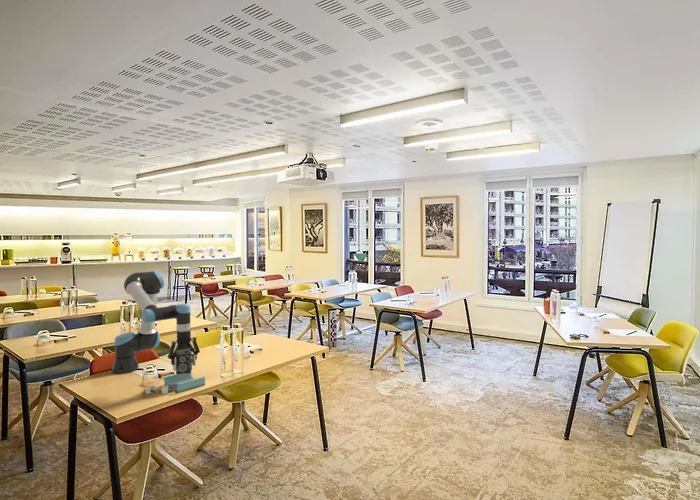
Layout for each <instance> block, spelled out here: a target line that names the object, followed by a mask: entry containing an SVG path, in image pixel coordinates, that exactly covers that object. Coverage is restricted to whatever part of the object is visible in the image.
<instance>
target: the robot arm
mask: <svg viewBox="0 0 700 500" xmlns="http://www.w3.org/2000/svg"><path fill="white" fill-rule="evenodd" d="M164 287H165V280H164V276H163V274H162V273H161V272H160V271H153V270H152V271H143V272H133V273H131V274H129V275H128V276H127V277H126V279H125V280H124V283H123V288H124V291H125V292H126V294H128V295H130V296H131V297H132V299H133V300H134V302H135V303H136V304H137V306H138V307H139V308H140V310H141V316H140V317H141V319H140V328H139V329H138V330H137V333H135V332H133V331H132V332H131V331H130V332H124V333H121V334H118V335H117V336H115V338H114V343H113V345H114V362H113V364H112V367H111V371H112V373H113V374H128V373H133V372H135V371H137V370H138V369H139V363H138V361H137V358H136V353H138V352H143V351H147V350H148V351H149V350H152V349H157V347H158V346H159V344H160V343H161V335H160V334H161V333H160V332H159V331H158V329H157V328H156V322H160V321H165V320H172V319H176V340H172V341H171V343H170V344H171V346H170V349H169V351H168V356H167V359H169V360H170V362H171V363H170V365H171V366H172V371H175V372H176V359H175V358H176V355H177V354H176V352H175V351H176V349H177V350H179V349H181V347H184V346H188V347H191V351H192V355H193V356H192V358H193V363H192V367H193V366H194V367H195V366H197V365H196V364H197V359H198V354H199V353H201V350H200V348H199V346H198V343H197V338H196V336H195V337H194V336H192V335H191V334H192V333H191V305H190V304H189V303H177V304H169V305H168V306H162V307H158V306H157V304H158V303H157V301H158V295H159V294H160V293H161V290H162V289H163V288H164ZM191 336H192V337H191ZM191 342H192V344H191ZM137 368H138V369H137ZM136 369H137V370H136ZM134 370H135V371H134ZM132 371H133V372H132Z"/></svg>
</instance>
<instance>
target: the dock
mask: <svg viewBox="0 0 700 500" xmlns="http://www.w3.org/2000/svg"><path fill="white" fill-rule="evenodd" d="M163 383H164V384H163V386H168V388H169V389H172V391H174V392H176V393H177V394H180V393H184V392H187V391H190V390H194V389H197V388H201V387H204V386H206V377H205V376H200V377H195V378H194V377H192V371H191V372H190V373H189V374H188V373H185V374H176V373H173V374H169V375H166V376H164V377H163Z"/></svg>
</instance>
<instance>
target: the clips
mask: <svg viewBox="0 0 700 500" xmlns="http://www.w3.org/2000/svg"><path fill="white" fill-rule="evenodd" d="M144 389H145V392H144V393H145V394H148V395H149V394H152V393H151V390H156V386H155V385H152V384H151V385H149V387H148V386H146V387H145V388H144ZM168 389H170V388H169V387H168V386H165V385H162V388H161V390H162V393H161V394H162V395H166V394H169V392H168Z"/></svg>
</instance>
